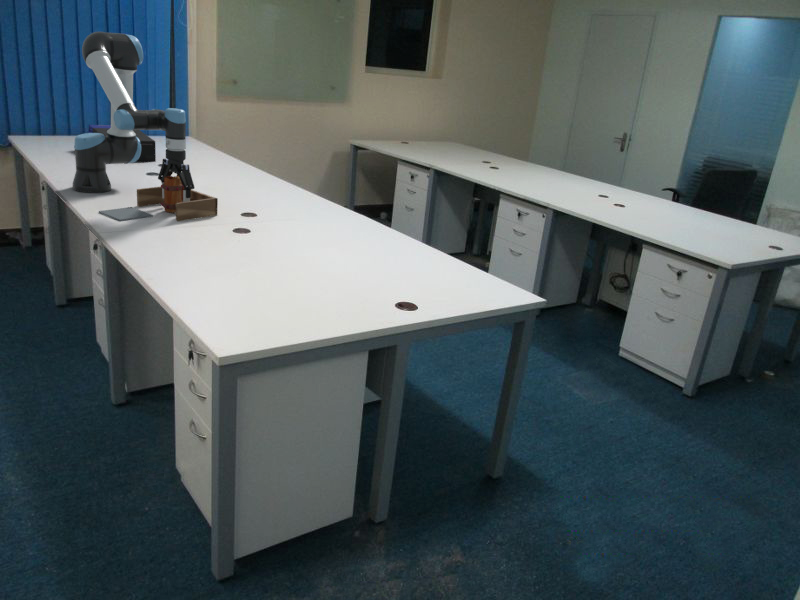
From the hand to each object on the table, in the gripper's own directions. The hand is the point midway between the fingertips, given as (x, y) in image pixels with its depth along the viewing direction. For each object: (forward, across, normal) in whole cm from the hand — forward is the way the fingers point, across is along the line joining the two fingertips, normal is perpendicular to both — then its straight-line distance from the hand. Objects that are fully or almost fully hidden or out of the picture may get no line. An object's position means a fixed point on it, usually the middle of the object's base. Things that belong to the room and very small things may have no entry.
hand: (176, 201), depth 263 cm
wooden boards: (+4, 0, 0) cm, 4 cm away
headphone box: (+4, -108, +45) cm, 117 cm away
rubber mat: (+4, -4, -20) cm, 21 cm away
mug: (+4, 0, 0) cm, 4 cm away
